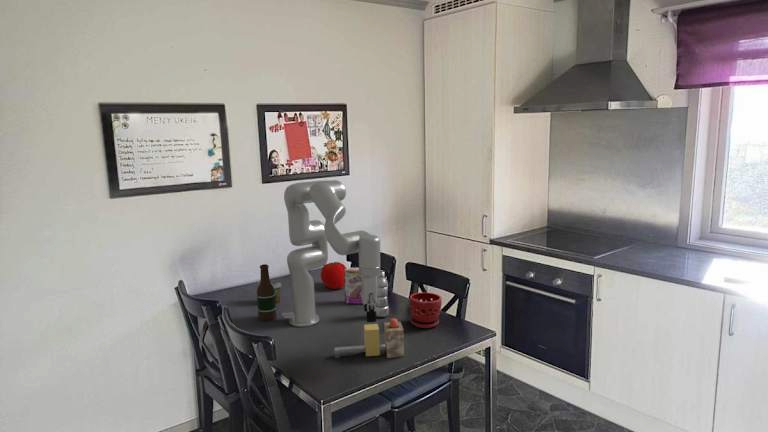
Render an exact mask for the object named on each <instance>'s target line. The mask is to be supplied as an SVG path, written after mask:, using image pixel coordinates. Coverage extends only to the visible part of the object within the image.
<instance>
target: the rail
mask: <svg viewBox="0 0 768 432" xmlns="http://www.w3.org/2000/svg"><path fill="white" fill-rule="evenodd" d="M385 350H386V344H385V343H380V355H379V356H384V355H386V351H385ZM359 352H366V348H365V344H364V345H351V346H337V347H334V359H341V354H345V353H348V354H349V353H359Z"/></svg>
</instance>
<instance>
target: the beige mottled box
mask: <svg viewBox="0 0 768 432" xmlns="http://www.w3.org/2000/svg"><path fill="white" fill-rule="evenodd" d="M397 323H398V328H390V321H389V322H383V331H384V332H383V334H384V337H383V338H384V344H386V350H385V355H386V358H387V359H391V358H403V357H405V339H404V338H405V336H404V335H405V333H404V331H405V329H404V327H403V325H402V323H401V321H397Z"/></svg>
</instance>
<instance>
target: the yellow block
mask: <svg viewBox="0 0 768 432" xmlns="http://www.w3.org/2000/svg"><path fill="white" fill-rule="evenodd" d="M363 335H364V336H363V340H364V345H365V348H366V351H365V357H375V356H376V357H377V356H381V355H380V344H381V342H380V340H381V339H380V327H379V325H378V323H373V324H371V323H370V324H363Z"/></svg>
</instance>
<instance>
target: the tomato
mask: <svg viewBox="0 0 768 432" xmlns="http://www.w3.org/2000/svg"><path fill="white" fill-rule="evenodd" d="M346 268H347V267H346V265H345V264H344V263H342V262H339V261H333V262H327V263H326V264H325V265H324V266H322V267H321V270H320V271H321V272H320V278H321V281H322V283H323V284H324V285H325V287H327V288H329V289H332V290H338V289H343V288H345V275H344V270H345V269H346Z"/></svg>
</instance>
